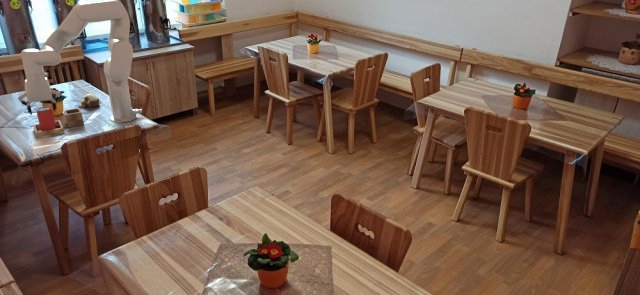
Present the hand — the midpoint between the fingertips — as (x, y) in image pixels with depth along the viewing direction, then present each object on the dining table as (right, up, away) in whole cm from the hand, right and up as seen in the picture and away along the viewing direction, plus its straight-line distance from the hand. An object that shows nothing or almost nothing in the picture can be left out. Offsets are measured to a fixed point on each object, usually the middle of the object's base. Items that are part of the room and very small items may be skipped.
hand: (42, 112), depth 225 cm
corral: (0, -9, +5) cm, 10 cm away
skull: (+5, +5, +36) cm, 37 cm away
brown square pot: (+8, -5, +14) cm, 17 cm away
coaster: (+13, -9, +6) cm, 17 cm away
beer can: (0, -9, +5) cm, 11 cm away
